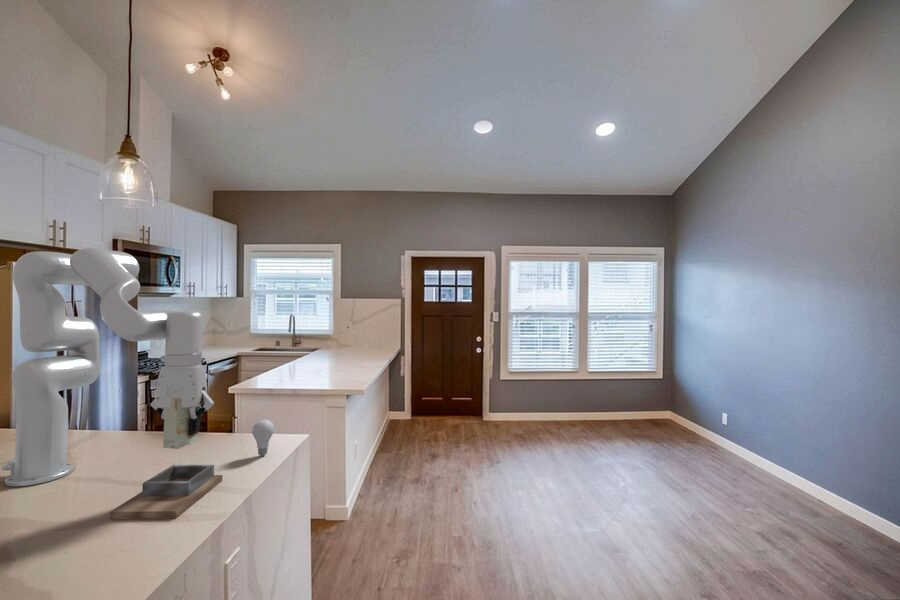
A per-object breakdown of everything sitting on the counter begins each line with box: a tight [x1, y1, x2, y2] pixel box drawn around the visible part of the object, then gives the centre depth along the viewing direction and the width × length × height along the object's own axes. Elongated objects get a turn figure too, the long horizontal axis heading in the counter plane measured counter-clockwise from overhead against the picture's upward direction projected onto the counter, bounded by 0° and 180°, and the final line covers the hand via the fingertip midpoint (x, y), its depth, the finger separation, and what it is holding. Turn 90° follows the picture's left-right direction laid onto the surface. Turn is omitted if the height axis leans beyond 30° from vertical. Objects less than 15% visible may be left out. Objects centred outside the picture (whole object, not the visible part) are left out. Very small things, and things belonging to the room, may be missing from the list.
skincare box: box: [162, 398, 199, 450], centre depth 95 cm, size 6×4×12 cm
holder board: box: [109, 464, 223, 520], centre depth 92 cm, size 14×18×4 cm
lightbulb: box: [251, 419, 275, 457], centre depth 118 cm, size 6×6×11 cm
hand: (181, 433), depth 95 cm, fingers closed on skincare box, 5 cm apart
